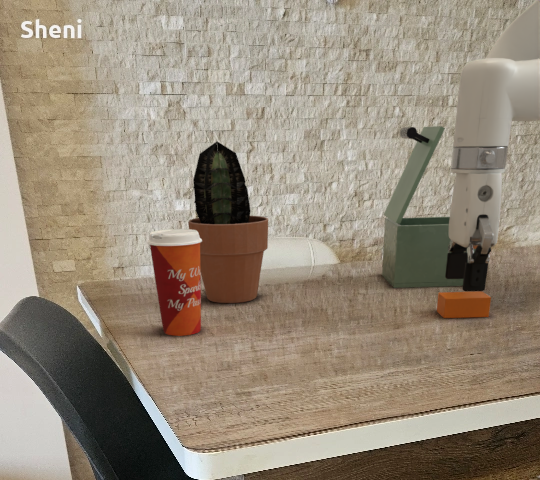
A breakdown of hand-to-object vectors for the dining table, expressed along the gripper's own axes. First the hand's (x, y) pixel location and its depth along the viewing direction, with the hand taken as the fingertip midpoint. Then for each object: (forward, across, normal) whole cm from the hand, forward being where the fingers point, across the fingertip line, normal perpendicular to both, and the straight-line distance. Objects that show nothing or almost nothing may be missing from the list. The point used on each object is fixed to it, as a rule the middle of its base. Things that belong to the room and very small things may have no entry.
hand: (463, 284), depth 102 cm
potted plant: (+5, +17, +36) cm, 40 cm away
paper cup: (+5, -5, +43) cm, 44 cm away
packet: (+5, 0, 0) cm, 5 cm away
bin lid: (-14, +27, +3) cm, 31 cm away
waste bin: (+4, +28, -1) cm, 28 cm away
